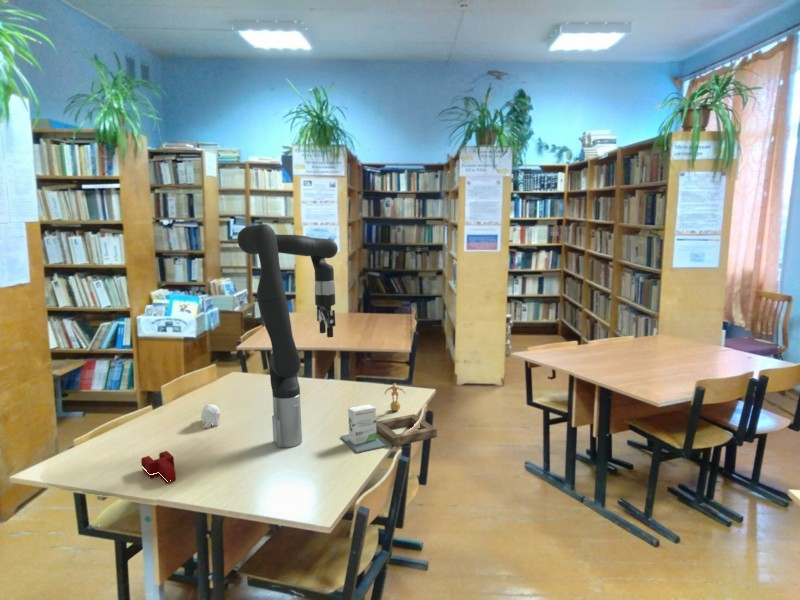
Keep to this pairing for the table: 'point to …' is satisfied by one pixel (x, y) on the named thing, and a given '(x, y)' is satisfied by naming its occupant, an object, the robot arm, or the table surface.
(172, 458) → the dark red block
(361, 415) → the ink box
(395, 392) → the figurine
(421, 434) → the holder
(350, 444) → the mat
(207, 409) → the white domed ornament
